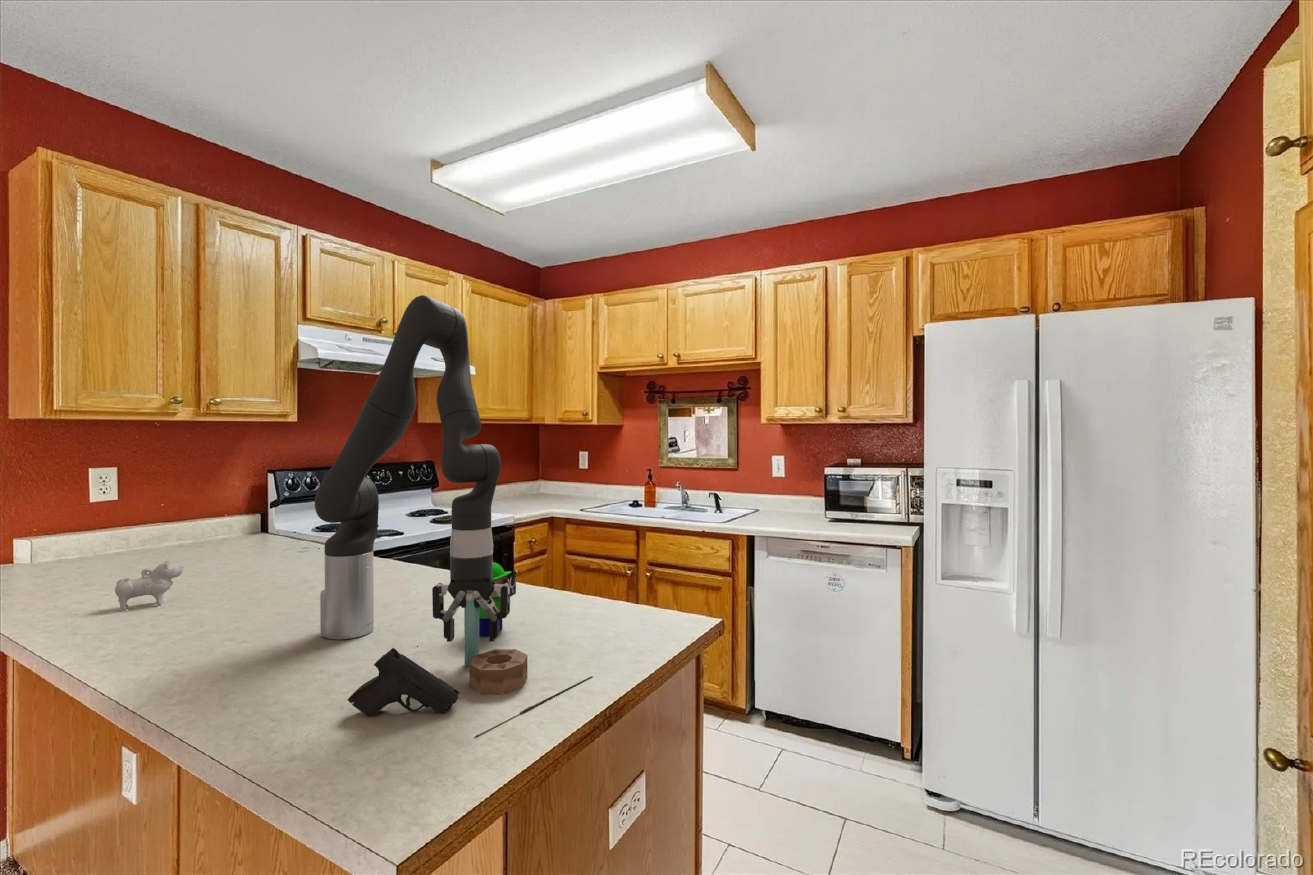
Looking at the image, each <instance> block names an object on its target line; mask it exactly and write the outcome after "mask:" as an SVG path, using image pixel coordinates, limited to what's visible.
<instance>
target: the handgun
mask: <svg viewBox="0 0 1313 875" xmlns="http://www.w3.org/2000/svg"><path fill="white" fill-rule="evenodd" d="M373 666H374V667H375V668H376V669H377V671H378V675H377V676H374V677H373V678H371V679H370V680H368V681H366V682H364V683H363V684H362V685H361V686H359V687H358V688H357V689H356V690H354V692H353V693H352V694H351V695H350V696H349V697H348V699H347V701H348V702H349V704H351V705H352V706H353V707H354V708H355V709H357V710H358V711H360V712H361V713H362V714H364V715H365V716H366V717H368V718H371V717H373V716H374V715H375V714H377V713H378V712H380V711H381V710H382V709H384V708H385V707H386V706H388V705H390V704H393V703H398V704H399V705H400V706H401V707H403V708H404V709H405V710H407V711H408V712H409V713H417V712H419V711H420V710H421V709H423V708H430V709H432V710H433V711H435V712H436V713H438V714H439V715H444V714H445V713H448V711H449V710H451V709H452V707H453V706H454V705H455V704H456V702H458V700H459V698H460V693H461V691H459V690H458V689H457V688H455V687H453V686H452V685H450V684H449V683H447V682H446V681H444V680H443V679H441V678H438V677H437V676H436V675H434V674H433V673H431V672H430V671H428V670H427V669H425V668H424V667H422V666H421V665H419V664H418V663H417V662H415V661H413V660H412V659H410V658H408V657H407V656H406V655H404V654H403V653H400V652H399V651H398V650H397V649H396V648H395V647H392V648H391V649H389V650H388V651H387V652H386V653H384V654H383V655H382V656H381V657H380V658H378V660H376V662H375V663H374V664H373ZM402 696H407V697H406V698H405V702H404V701H403V699H402ZM411 699H413V700H414V701H416V702H418V703H419V704H420V706H419V707H417V708H412V707H410V706H411Z"/></svg>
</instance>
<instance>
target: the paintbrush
mask: <svg viewBox="0 0 1313 875" xmlns="http://www.w3.org/2000/svg"><path fill="white" fill-rule="evenodd" d="M592 678H594V677H593V676H592V675H591V676H589V677H587V678H585V679H583V680H580V681H579V682H577V683H576V684H573V685H571V686H569V687H567V688H566V689H563V690H562V691H559V692H557V693H555V694H553V695H552V696H549V697H547V698H546V699H543V700H542V701H539V702H538V703H535V704H534V705H532V706H531V705H530V706H528V707H527V708H525V709H523V710H521V711H520V712H519V713H518V714H516V715H514V716H513V717H510V718H509V719H507V720H505V721H502V722H500V723H498V724H497V725H494V726H492V727H491V728H489V729H486V730H484V731H482V732H480V733H478V734H476V735H475V736H474V737H473V738H478V737H479V736H481V735H484V734H485V733H487V732H489V731H491V730H493V729H495V728H497V727H499V726H500V725H503V724H504V723H506V722H508V721H510V720H513V719H514V718H516V717H518V716H521V715H523V714H526V713H527V712H530V711H532V710H534V709H535V708H537V707H539V706H541V705H543V704H545V703H547V702H548V701H547V700H549V701H550V700H552V699H554V698H556V697H558V696H560V695H562V694H564V693H566V692H567V691H570V690H571V689H573V688H575V687H577V686H579V685H581V684H582V683H585V682H587V681H588V680H590V679H592ZM565 691H566V692H565ZM563 692H564V693H563ZM561 693H562V694H561ZM555 696H556V697H555ZM553 697H554V698H553ZM546 701H547V702H546ZM544 702H545V703H544ZM538 705H539V706H538Z"/></svg>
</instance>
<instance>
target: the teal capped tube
mask: <svg viewBox="0 0 1313 875" xmlns="http://www.w3.org/2000/svg"><path fill="white" fill-rule="evenodd" d="M466 591H467V594H466V608H463V610H464V612H463V613H464V617H463V618H464V620H463V622H464V666H465V667H469V664H470V662H471V661H472V660H473V658H474V657H475V656H476V655H478V654H480V636H479V608H475V606H474V597H473V595H472V593H473V590H466Z"/></svg>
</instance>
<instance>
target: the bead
mask: <svg viewBox="0 0 1313 875" xmlns="http://www.w3.org/2000/svg"><path fill="white" fill-rule="evenodd" d="M468 675H469V678H468V679H469V682H468V684H469V688H470V689H472V690H473V691H475V692H476V693H478V694H480V695H505V694H507V693H510V692H513V691H516V690H519V689H521V688H523V687H524V685H525V684H526V682H527V679H528V654H527V653H525V652H523V651H520V650H518V649H515V648H499V649H498V648H494V649H491V650H488V651H485V652H482V653H481V652H480V653H479V654H478V655H476V656H475V657H474V658H473V660H472V661H471V662H470V664H469V674H468Z"/></svg>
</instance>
